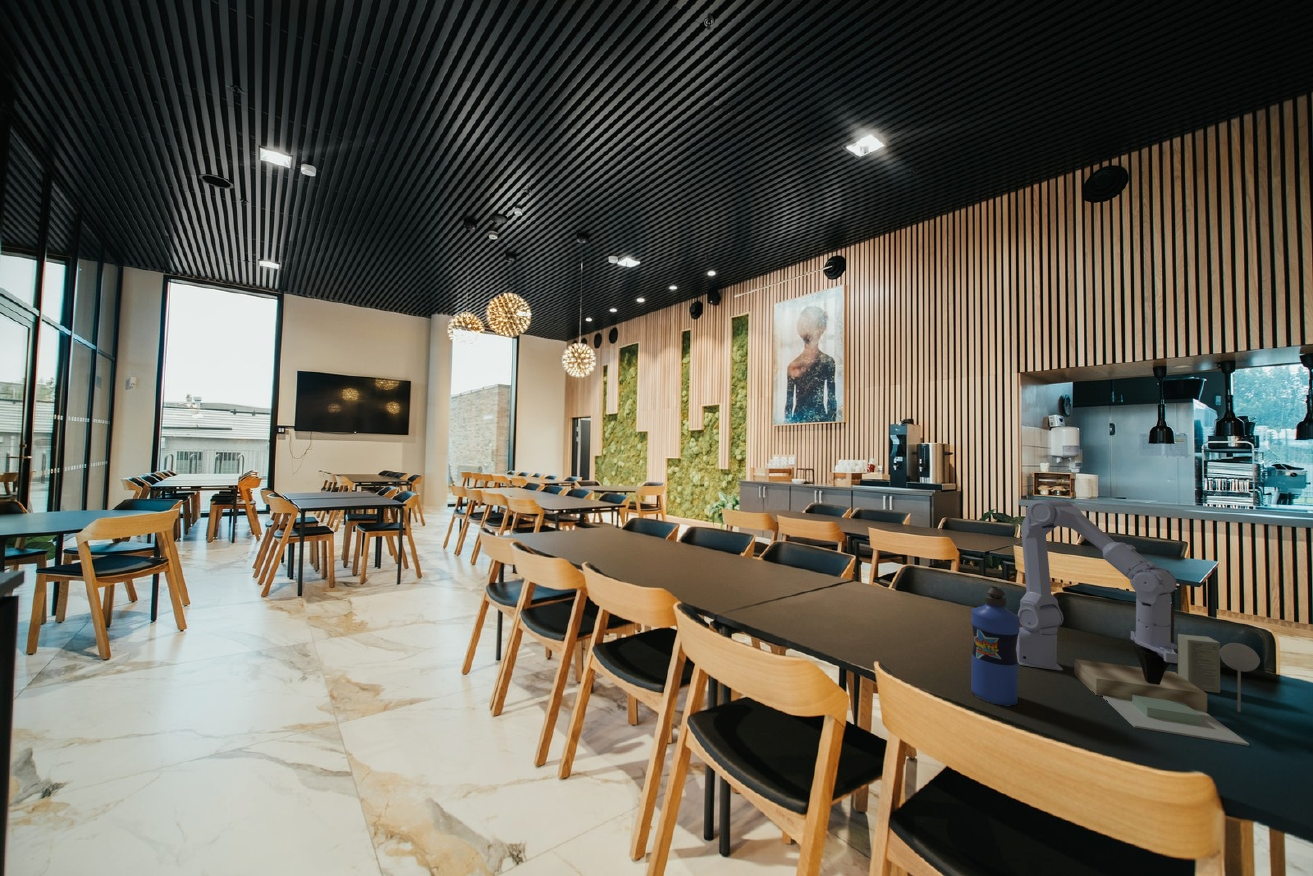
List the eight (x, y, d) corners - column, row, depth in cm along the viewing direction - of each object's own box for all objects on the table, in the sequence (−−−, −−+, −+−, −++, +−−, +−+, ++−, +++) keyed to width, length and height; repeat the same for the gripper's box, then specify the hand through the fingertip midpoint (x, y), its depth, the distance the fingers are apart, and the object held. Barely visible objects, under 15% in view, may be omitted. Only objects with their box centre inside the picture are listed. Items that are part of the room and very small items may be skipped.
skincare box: (1208, 686, 129) (1209, 636, 129) (1221, 694, 124) (1221, 642, 125) (1176, 682, 131) (1176, 633, 131) (1187, 689, 126) (1187, 639, 127)
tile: (1132, 695, 117) (1132, 704, 117) (1147, 707, 112) (1147, 716, 112) (1183, 702, 114) (1183, 711, 114) (1201, 715, 109) (1201, 725, 109)
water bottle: (1003, 710, 114) (1005, 595, 114) (961, 691, 122) (963, 584, 123) (1027, 701, 118) (1028, 590, 119) (985, 684, 127) (986, 580, 127)
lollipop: (1210, 705, 119) (1211, 638, 119) (1234, 704, 119) (1234, 638, 119) (1243, 719, 112) (1244, 649, 113) (1268, 718, 113) (1268, 649, 113)
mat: (1134, 727, 108) (1134, 725, 108) (1102, 697, 121) (1102, 695, 121) (1249, 746, 102) (1249, 744, 102) (1202, 712, 115) (1202, 710, 115)
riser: (1096, 695, 122) (1096, 678, 122) (1074, 674, 133) (1074, 659, 133) (1207, 712, 115) (1207, 693, 115) (1174, 688, 127) (1174, 672, 127)
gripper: (1196, 635, 110) (1196, 700, 110) (1157, 615, 124) (1156, 673, 123) (1154, 630, 112) (1153, 694, 112) (1120, 611, 126) (1119, 668, 126)
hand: (1152, 683), depth 118 cm, fingers closed
